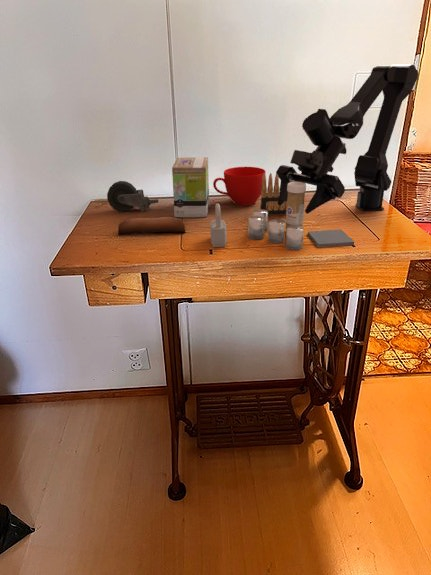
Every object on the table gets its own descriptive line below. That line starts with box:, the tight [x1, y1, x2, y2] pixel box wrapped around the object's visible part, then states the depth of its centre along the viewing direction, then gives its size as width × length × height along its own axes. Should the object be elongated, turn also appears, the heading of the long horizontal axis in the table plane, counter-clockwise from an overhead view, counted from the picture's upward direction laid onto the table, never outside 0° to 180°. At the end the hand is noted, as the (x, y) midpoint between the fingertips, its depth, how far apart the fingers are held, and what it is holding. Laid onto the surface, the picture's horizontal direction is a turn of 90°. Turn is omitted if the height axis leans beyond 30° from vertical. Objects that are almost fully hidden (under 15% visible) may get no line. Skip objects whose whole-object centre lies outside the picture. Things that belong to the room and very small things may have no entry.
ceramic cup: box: [212, 166, 266, 207], centre depth 140 cm, size 13×17×10 cm
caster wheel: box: [106, 180, 159, 213], centre depth 137 cm, size 6×10×15 cm
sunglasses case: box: [117, 216, 186, 236], centre depth 122 cm, size 18×7×7 cm
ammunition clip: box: [259, 172, 287, 216], centre depth 130 cm, size 11×2×12 cm, turn 90°
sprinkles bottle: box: [284, 182, 307, 235], centre depth 114 cm, size 5×5×13 cm
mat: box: [307, 228, 355, 248], centre depth 113 cm, size 9×9×1 cm
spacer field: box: [247, 209, 305, 251], centre depth 113 cm, size 12×18×5 cm
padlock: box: [209, 202, 227, 248], centre depth 111 cm, size 7×4×10 cm, turn 2°
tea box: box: [171, 156, 210, 218], centre depth 134 cm, size 15×10×15 cm
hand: (291, 208), depth 113 cm, fingers open, 9 cm apart
